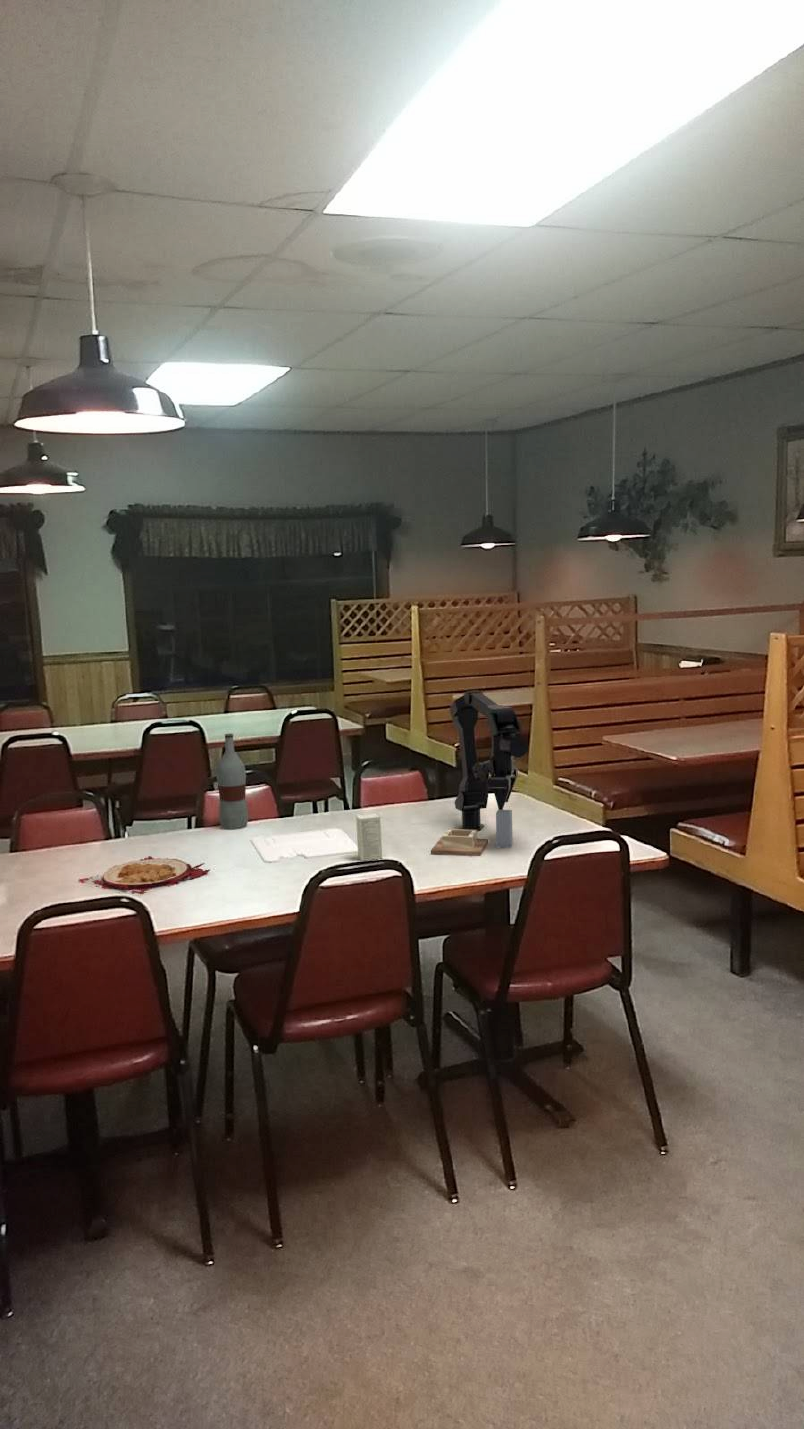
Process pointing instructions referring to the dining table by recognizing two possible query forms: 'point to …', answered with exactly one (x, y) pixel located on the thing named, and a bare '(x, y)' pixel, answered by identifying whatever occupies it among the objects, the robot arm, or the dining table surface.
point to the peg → (504, 828)
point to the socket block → (460, 843)
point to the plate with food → (147, 874)
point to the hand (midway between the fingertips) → (503, 805)
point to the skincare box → (369, 836)
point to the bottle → (232, 788)
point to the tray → (304, 845)
